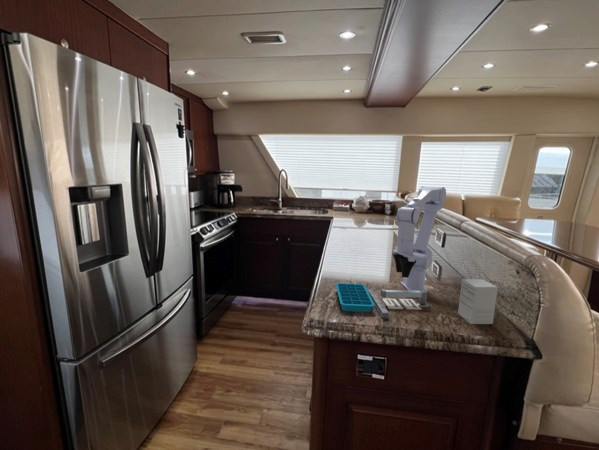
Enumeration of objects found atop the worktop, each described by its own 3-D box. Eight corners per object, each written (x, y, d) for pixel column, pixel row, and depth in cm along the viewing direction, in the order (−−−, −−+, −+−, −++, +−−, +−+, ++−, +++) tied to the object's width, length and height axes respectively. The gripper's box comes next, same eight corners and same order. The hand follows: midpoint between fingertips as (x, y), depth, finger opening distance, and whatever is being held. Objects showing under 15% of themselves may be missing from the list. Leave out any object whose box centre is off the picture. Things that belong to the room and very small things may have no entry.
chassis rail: (366, 293, 111) (367, 288, 110) (371, 293, 111) (372, 288, 110) (382, 318, 91) (382, 312, 91) (388, 318, 91) (388, 312, 91)
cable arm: (424, 301, 103) (425, 289, 103) (427, 304, 101) (428, 292, 100) (379, 300, 103) (380, 288, 102) (381, 303, 100) (382, 291, 100)
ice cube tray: (340, 313, 95) (340, 304, 94) (335, 289, 115) (335, 282, 114) (374, 314, 94) (375, 306, 94) (363, 291, 114) (364, 284, 114)
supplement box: (477, 313, 96) (482, 278, 94) (493, 324, 89) (499, 287, 87) (456, 313, 96) (461, 278, 94) (470, 324, 89) (475, 286, 87)
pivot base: (412, 301, 105) (412, 300, 104) (425, 301, 105) (425, 301, 105) (418, 307, 100) (418, 306, 100) (432, 307, 100) (432, 307, 100)
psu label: (382, 299, 106) (382, 298, 106) (395, 299, 106) (395, 298, 106) (388, 308, 98) (389, 307, 98) (403, 309, 98) (403, 308, 98)
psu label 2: (399, 299, 106) (399, 298, 106) (412, 299, 106) (412, 298, 106) (407, 309, 98) (407, 308, 98) (421, 309, 98) (421, 308, 98)
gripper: (388, 235, 111) (385, 268, 113) (402, 243, 96) (398, 281, 99) (406, 235, 111) (403, 268, 113) (422, 244, 97) (418, 281, 99)
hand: (402, 274), depth 106 cm, fingers open, 5 cm apart
